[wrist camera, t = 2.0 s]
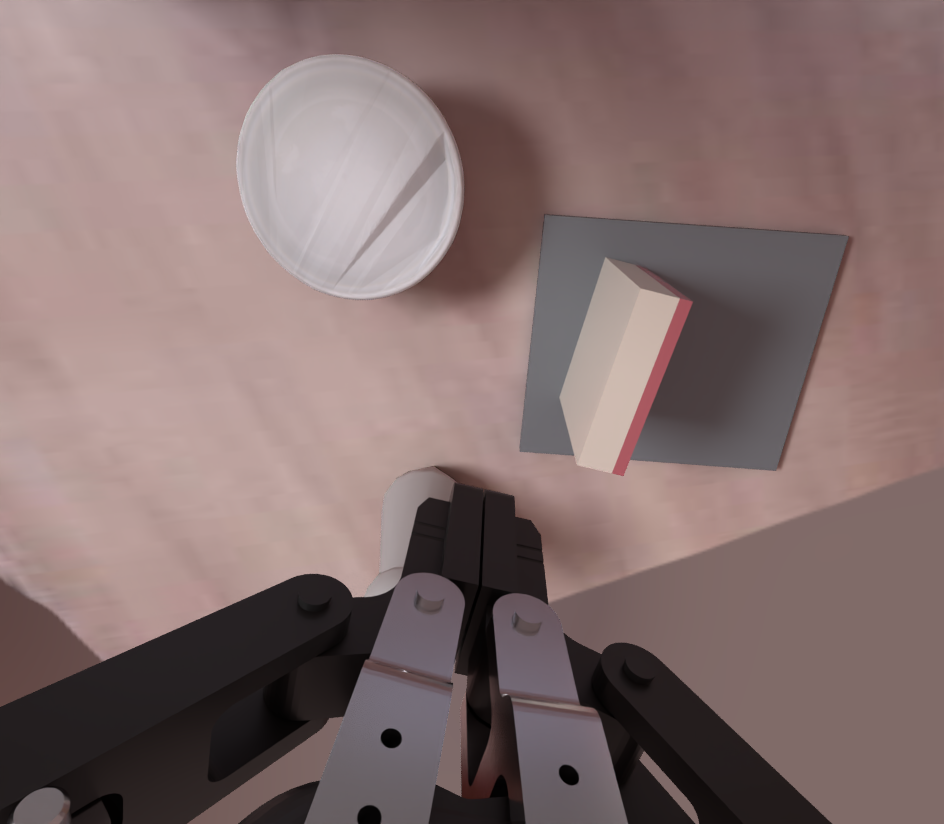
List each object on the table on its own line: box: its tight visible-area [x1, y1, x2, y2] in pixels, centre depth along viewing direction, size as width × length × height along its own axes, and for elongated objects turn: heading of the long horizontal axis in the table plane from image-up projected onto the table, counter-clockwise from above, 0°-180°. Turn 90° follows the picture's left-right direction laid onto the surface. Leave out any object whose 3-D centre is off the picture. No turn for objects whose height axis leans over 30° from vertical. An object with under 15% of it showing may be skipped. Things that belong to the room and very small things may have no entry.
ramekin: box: [236, 54, 464, 300], centre depth 31 cm, size 11×11×5 cm
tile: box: [559, 257, 693, 476], centre depth 31 cm, size 2×9×9 cm, turn 166°
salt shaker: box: [364, 466, 457, 597], centre depth 35 cm, size 6×6×13 cm
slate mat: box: [520, 214, 849, 471], centre depth 36 cm, size 15×17×1 cm
